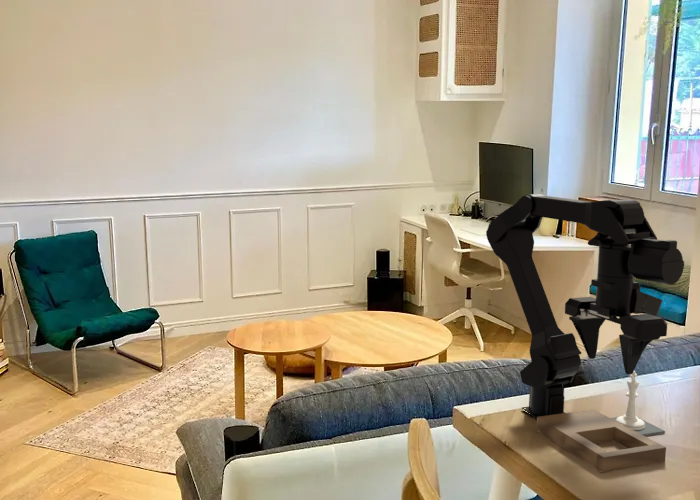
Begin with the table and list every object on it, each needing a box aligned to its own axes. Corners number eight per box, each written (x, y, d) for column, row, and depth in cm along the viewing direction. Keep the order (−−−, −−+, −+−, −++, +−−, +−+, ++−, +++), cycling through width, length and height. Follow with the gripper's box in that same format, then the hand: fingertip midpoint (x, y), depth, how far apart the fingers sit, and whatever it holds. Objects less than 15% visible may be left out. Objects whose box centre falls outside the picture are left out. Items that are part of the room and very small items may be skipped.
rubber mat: (597, 421, 128) (597, 419, 128) (632, 416, 130) (632, 414, 130) (628, 438, 120) (628, 436, 120) (664, 433, 123) (665, 430, 123)
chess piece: (650, 425, 125) (654, 371, 124) (635, 432, 122) (639, 377, 121) (624, 417, 129) (628, 365, 127) (610, 423, 126) (613, 370, 124)
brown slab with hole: (536, 430, 123) (537, 416, 123) (592, 422, 127) (593, 409, 127) (602, 472, 107) (603, 457, 107) (664, 462, 111) (666, 447, 111)
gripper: (698, 282, 110) (690, 378, 112) (616, 264, 127) (611, 347, 129) (641, 286, 106) (634, 385, 108) (565, 267, 124) (560, 352, 126)
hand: (609, 366), depth 118 cm, fingers open, 9 cm apart
